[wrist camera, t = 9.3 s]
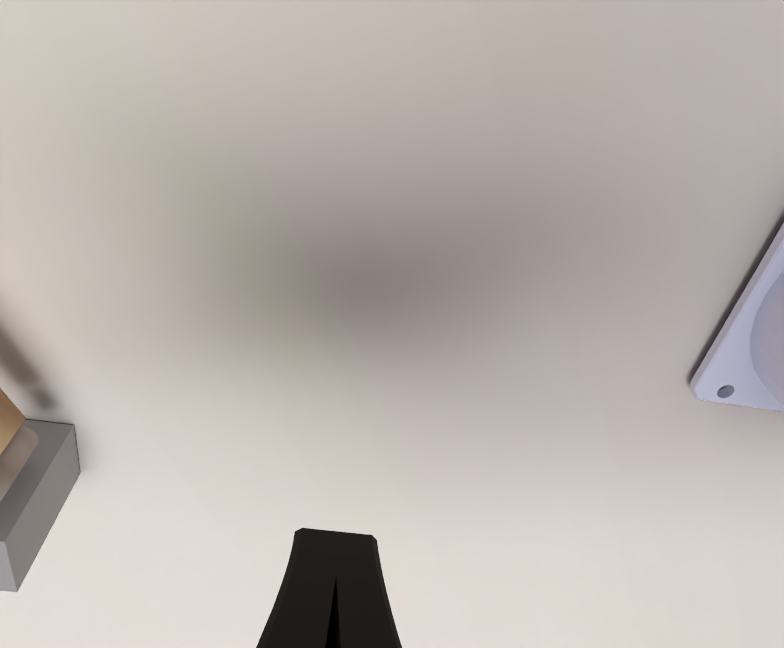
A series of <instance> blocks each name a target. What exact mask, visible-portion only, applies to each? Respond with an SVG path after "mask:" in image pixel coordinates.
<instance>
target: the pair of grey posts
mask: <svg viewBox="0 0 784 648" xmlns="http://www.w3.org/2000/svg"><path fill="white" fill-rule="evenodd" d="M22 426H25V427H27V428H29V429H31V430H32V431H34V432H35V433H36V435H37V437H38V444H37V446H36V447H35V449H34V450H33V452H32V454H31V455H30V457H29V458H28V460H27V461H26V463H25V464H24V466H23V468H22V469H21V471H20V472H19V474H18V475H17V477H16V479H15V480H14V482H13V483H12V485H11V486H10V488H9V489H8V491H7V493H6V494H5V496H4V497H3V499H2V500H1V502H0V591H11V592H18V590H19V588H20V586H21V584H22V582H23V580H24V578H25V576H26V575H27V573H28V571H29V569H30V567H31V565H32V563H33V561H34V559H35V558H36V556H37V554H38V552H39V550H40V548H41V546H42V544H43V542H44V541H45V539H46V537H47V535H48V533H49V531H50V529H51V527H52V526H53V524H54V522H55V520H56V518H57V516H58V514H59V512H60V510H61V509H62V507H63V505H64V503H65V501H66V499H67V497H68V495H69V493H70V492H71V490H72V488H73V486H74V484H75V482H76V480H77V478H78V476H79V475H80V468H79V461H78V453H77V445H76V438H75V430H74V425H68V424H59V423H51V422H42V421H34V420H24V422H23V423H22Z"/></svg>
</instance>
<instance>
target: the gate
mask: <svg viewBox="0 0 784 648" xmlns="http://www.w3.org/2000/svg"><path fill="white" fill-rule="evenodd" d="M25 419H26V418H25V416H24V415H23V414H22V413H21V412H20V411H19V409H18V408H17V407H16V406H15V405H14V404H13V402H12V401H11V400H10V399H9V398H8V397H7V395H6V394H5V393H4V392H3V391H2V390H1V388H0V502H1V500H2V499H3V497H4V496H5V494H6V493H7V491H8V489H9V488H10V486H11V485H12V483H13V482H14V480H15V479H16V477H17V475H18V474H19V472H20V471H21V469H22V468H23V466H24V464H25V463H26V461H27V460H28V458H29V457H30V455H31V454H32V452H33V450H34V449H35V447H36V446H37V444H38V437H37V435H36V433H35V432H34V431H32V430H31V429H29V428H27V427H25V426H22V423H23V422H24V420H25Z"/></svg>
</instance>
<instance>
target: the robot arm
mask: <svg viewBox="0 0 784 648" xmlns="http://www.w3.org/2000/svg"><path fill="white" fill-rule="evenodd" d="M725 385H727V386H726V387H725V388H723V389H721V390H719V389H720V388H721V387H723V386H725ZM690 389H691V391H692V392H693V394H694V396H695V397H696V398H697V399H699V400H702V401H709V402H716V403H724V404H731V405H738V406H745V407H752V408H760V409H767V410H774V411H781V412H784V223H783V225H782V226H781V228H780V230H779V232H778V233H777V235H776V237H775V238H774V240H773V242H772V244H771V245H770V247H769V249H768V250H767V252H766V254H765V255H764V257H763V259H762V261H761V262H760V264H759V266H758V267H757V269H756V271H755V273H754V274H753V276H752V278H751V279H750V281H749V283H748V284H747V286H746V288H745V290H744V291H743V293H742V295H741V296H740V298H739V300H738V302H737V303H736V305H735V307H734V308H733V310H732V312H731V314H730V315H729V317H728V319H727V320H726V322H725V324H724V325H723V327H722V329H721V331H720V332H719V334H718V336H717V337H716V339H715V341H714V343H713V344H712V346H711V348H710V349H709V351H708V353H707V354H706V356H705V358H704V360H703V361H702V363H701V365H700V366H699V368H698V370H697V372H696V373H695V375H694V377H693V378H692V380H691V383H690ZM256 648H402V646H401V643H400V640H399V636H398V633H397V630H396V626H395V623H394V619H393V615H392V611H391V608H390V604H389V600H388V596H387V592H386V588H385V583H384V579H383V574H382V569H381V564H380V558H379V553H378V546H377V540H376V539H375V538H374V537H373V536H372V535H365V534H356V533H346V532H336V531H326V530H317V529H307V528H301V529H299V530H297V531H295V535H294V541H293V546H292V551H291V554H290V558H289V562H288V566H287V569H286V572H285V575H284V578H283V581H282V584H281V587H280V590H279V593H278V595H277V598H276V601H275V604H274V606H273V609H272V611H271V614H270V616H269V619H268V621H267V623H266V626H265V628H264V630H263V633H262V635H261V638H260V640H259V642H258V645H257V647H256Z"/></svg>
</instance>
